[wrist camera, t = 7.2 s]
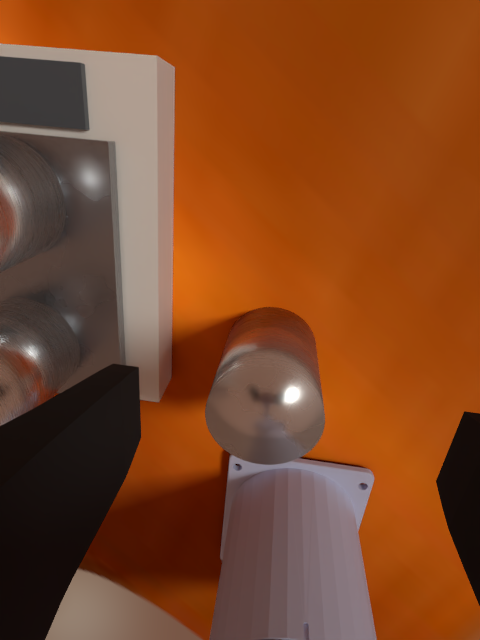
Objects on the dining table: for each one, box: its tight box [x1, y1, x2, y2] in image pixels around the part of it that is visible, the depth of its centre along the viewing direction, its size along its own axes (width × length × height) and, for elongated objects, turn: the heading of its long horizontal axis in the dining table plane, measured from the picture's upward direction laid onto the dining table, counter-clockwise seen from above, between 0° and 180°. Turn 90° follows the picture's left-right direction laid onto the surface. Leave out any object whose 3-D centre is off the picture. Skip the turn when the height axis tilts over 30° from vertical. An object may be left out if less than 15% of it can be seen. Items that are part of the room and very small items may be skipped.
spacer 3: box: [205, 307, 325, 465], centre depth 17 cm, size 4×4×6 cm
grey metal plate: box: [0, 131, 126, 393], centre depth 16 cm, size 11×8×1 cm
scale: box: [0, 44, 175, 402], centre depth 17 cm, size 14×11×2 cm
